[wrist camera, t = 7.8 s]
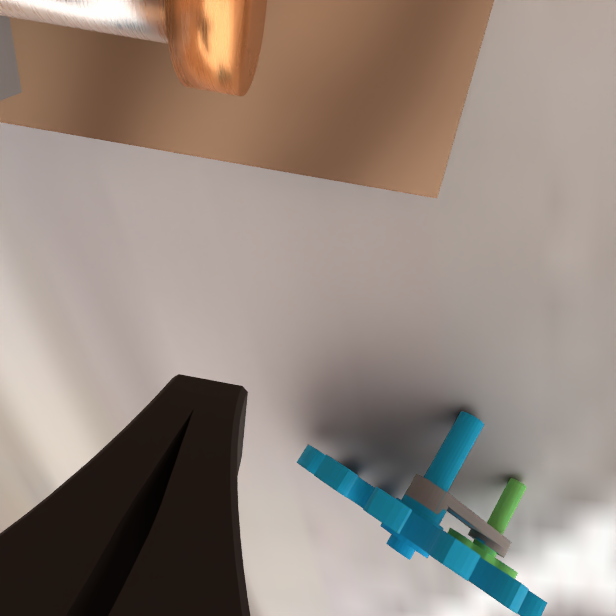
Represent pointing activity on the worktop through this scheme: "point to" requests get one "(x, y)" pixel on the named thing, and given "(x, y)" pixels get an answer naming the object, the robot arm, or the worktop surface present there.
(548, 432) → the worktop surface
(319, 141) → the bearing stand
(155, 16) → the shaft
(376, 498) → the gear
